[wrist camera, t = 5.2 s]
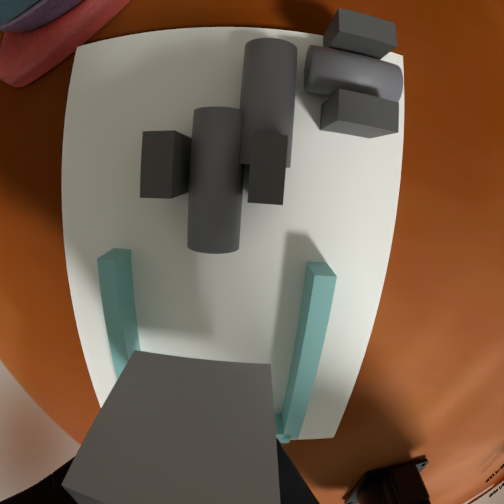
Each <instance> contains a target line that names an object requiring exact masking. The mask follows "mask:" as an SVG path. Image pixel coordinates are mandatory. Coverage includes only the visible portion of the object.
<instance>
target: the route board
mask: <svg viewBox="0 0 504 504" xmlns="http://www.w3.org/2000/svg"><path fill="white" fill-rule="evenodd" d="M396 47H397V39H396V29H395V23H392V22H389V21H386V20H382V19H379V18H376V17H372V16H369V15H365V14H362V13H358V12H354V11H350V10H345V9H341V8H338V10H337V12H336V14H335V15H334V17H333V19H332V21H331V22H330V24H329V26H328V28H327V30H326V31H325V33H324V35H323V36H322V35H316V34H310V33H303V32H296V31H287V30H278V29H266V28H249V27H199V28H182V29H170V30H161V31H152V32H145V33H138V34H132V35H126V36H121V37H116V38H111V39H106V40H102V41H98V42H93V43H89V44H86V45H82V46H78V47H77V50H76V54H75V58H74V63H73V68H72V73H71V79H70V85H69V91H68V98H67V105H66V113H65V123H64V134H63V148H62V220H63V235H64V246H65V256H66V264H67V272H68V279H69V286H70V292H71V298H72V303H73V309H74V314H75V319H76V323H77V328H78V332H79V336H80V341H81V345H82V349H83V352H84V356H85V360H86V363H87V367H88V370H89V374H90V377H91V380H92V383H93V386H94V389H95V392H96V395H97V398H98V401H99V404H100V407H101V408H102V406H103V404H104V402H105V401H106V399H107V397H108V395H109V393H110V392H111V390H112V388H113V386H114V385H115V383H116V381H117V376H116V372H115V368H114V364H113V360H112V355H111V350H110V345H109V341H108V335H107V330H106V324H105V319H104V312H103V306H102V299H101V292H100V284H99V275H98V265H97V258H99V257H101V256H102V255H104V254H105V253H107V252H108V251H110V250H111V249H113V248H121V249H131V262H132V277H133V289H134V300H135V310H136V319H137V327H138V335H139V342H140V349H141V351H145V352H151V353H158V354H165V355H172V356H180V357H188V358H197V359H207V360H217V361H229V362H243V363H260V364H271V375H272V388H273V402H274V413H282V408H283V403H284V399H285V394H286V388H287V383H288V378H289V373H290V367H291V362H292V356H293V351H294V345H295V339H296V333H297V327H298V321H299V314H300V308H301V301H302V294H303V288H304V280H305V273H306V266H307V262H322V263H327V264H328V265H329V266H330V268H331V269H332V270H333V272H334V273H335V275H336V276H337V279H336V284H335V290H334V295H333V301H332V306H331V311H330V316H329V321H328V326H327V330H326V335H325V340H324V344H323V349H322V353H321V357H320V361H319V365H318V370H317V374H316V378H315V381H314V385H313V389H312V393H311V397H310V400H309V404H308V407H307V411H306V414H305V418H304V421H303V425H302V428H301V431H300V434H299V438H298V439H290V440H302V439H322V438H334V435H335V433H336V431H337V428H338V426H339V424H340V421H341V419H342V416H343V414H344V411H345V409H346V406H347V404H348V401H349V398H350V396H351V393H352V390H353V387H354V385H355V382H356V379H357V376H358V373H359V370H360V367H361V364H362V361H363V358H364V355H365V351H366V348H367V345H368V342H369V338H370V335H371V331H372V328H373V324H374V320H375V317H376V313H377V309H378V305H379V301H380V297H381V293H382V288H383V284H384V279H385V275H386V270H387V265H388V260H389V255H390V249H391V244H392V238H393V232H394V226H395V219H396V212H397V204H398V196H399V187H400V178H401V166H402V153H403V134H404V71H403V56H401V55H398V54H395V53H392V52H391V51H392V50H393V49H395V48H396Z"/></svg>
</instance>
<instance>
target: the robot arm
mask: <svg viewBox="0 0 504 504" xmlns="http://www.w3.org/2000/svg"><path fill="white" fill-rule="evenodd" d="M276 444H277V458H278V473H279V488H280V504H320V503H319V502H318V501H317V499H316V498H315V496H314V495H313V493H312V492H311V490H310V489H309V487H308V486H307V484H306V483H305V481H304V480H303V478H302V476H301V475H300V473H299V472H298V470H297V469H296V467H295V465H294V464H293V462H292V461H291V459H290V458H289V456H288V454H287V453H286V451H285V449H284V448H283V446H282V444H281V443H280V441H279V440H278V438H276ZM74 458H75V457H73V458H72V459H71V460H70V461H68V462H67V463H65V464H64V465H63V466H61V467H60V468H59V469H57V470H56V471H54V472H53V474H50V475H49V476H47V477H46V478H44V479H43V480H41V481H40V482H38V483H37V484H35V485H33V486H32V487H30V488H28V489H26V490H24V491H22V492H20V493H18V494H16V495H14V496H12V497H10V498H7V499H5V500H3V501H1V502H0V504H78V503H77V502H76V501H75V500H74V498H73V497H72V496H71V495H70V494H69V493H68V492H67V491H66V490H65V489H64V487H63V486H62V485H61V484H62V482H63V480H64V478H65V476H66V474H67V472H68V470H69V468H70V466H71V464H72V462H73V460H74ZM427 464H428V460H427V459H422V460H418V461H415V462H411V463H408V464H404V465H400V466H396V467H391V468H387V469H382V470H377V471H372V472H369V473H366V474H365V475H364V476H363V477H362V479H361V480H360V481H359V483H358V484H357V486H356V487H355V488H354V489H353V491H352V492H351V493H350V495H349V496H348V497H347V498H346V500H345V501H344V502H345V504H357V503H359V504H431V502H430V500H429V498H430V496H429V494H428V491H427V489H426V487H425V484H424V482H423V480H422V477H421V475H420V472H421V471H422V470H423V469H424V468H425V466H426V465H427Z"/></svg>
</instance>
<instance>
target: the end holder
mask: <svg viewBox="0 0 504 504" xmlns="http://www.w3.org/2000/svg"><path fill="white" fill-rule="evenodd" d="M97 265H98V275H99V284H100V292H101V299H102V306H103V312H104V319H105V324H106V330H107V335H108V341H109V345H110V350H111V355H112V360H113V364H114V368H115V372H116V376H117V379H118V378H119V376H120V374H121V373H122V371H123V369H124V367H125V366H126V364H127V362H128V361H129V359H130V357H131V356H132V354H133V352H134V351H135V350H139V351H141V349H140V342H139V335H138V327H137V319H136V310H135V300H134V289H133V277H132V262H131V249H121V248H113V249H111V250H110V251H108V252H107V253H105V254H104V255H102V256H101V257H99V258H97ZM336 279H337V276H336V275H335V273H334V272H333V270H332V269H331V268H330V266H329V265H328V264H327V263H322V262H307V266H306V273H305V280H304V288H303V294H302V301H301V308H300V314H299V321H298V327H297V333H296V339H295V345H294V351H293V356H292V362H291V367H290V373H289V378H288V383H287V388H286V394H285V399H284V403H283V408H282V413H274V415H275V429H276V438H278V440H279V441H280V443H289V442H290V439H298V438H299V434H300V431H301V428H302V425H303V421H304V418H305V414H306V411H307V407H308V404H309V400H310V397H311V393H312V389H313V385H314V381H315V378H316V374H317V370H318V365H319V361H320V357H321V353H322V349H323V344H324V340H325V335H326V330H327V326H328V321H329V316H330V311H331V306H332V301H333V295H334V290H335V284H336Z"/></svg>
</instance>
